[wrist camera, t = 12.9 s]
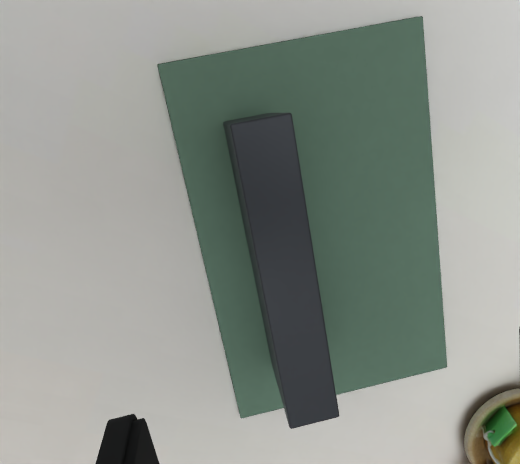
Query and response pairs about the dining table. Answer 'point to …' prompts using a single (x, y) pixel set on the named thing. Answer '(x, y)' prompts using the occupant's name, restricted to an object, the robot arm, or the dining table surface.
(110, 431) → the robot arm
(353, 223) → the placemat
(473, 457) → the toy tea set
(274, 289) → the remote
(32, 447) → the dining table surface
